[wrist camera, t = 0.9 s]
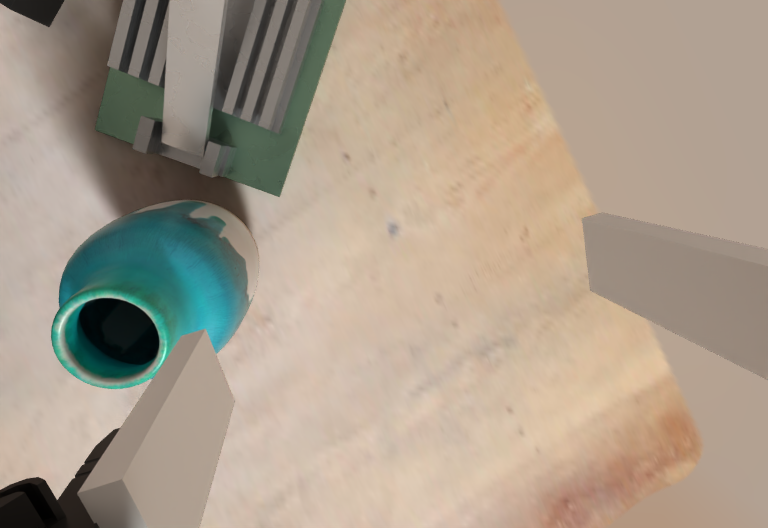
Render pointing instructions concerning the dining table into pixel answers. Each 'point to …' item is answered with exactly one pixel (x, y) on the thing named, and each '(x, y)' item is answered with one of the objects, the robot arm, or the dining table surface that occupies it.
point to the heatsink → (225, 85)
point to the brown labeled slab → (35, 9)
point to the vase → (152, 290)
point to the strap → (192, 72)
